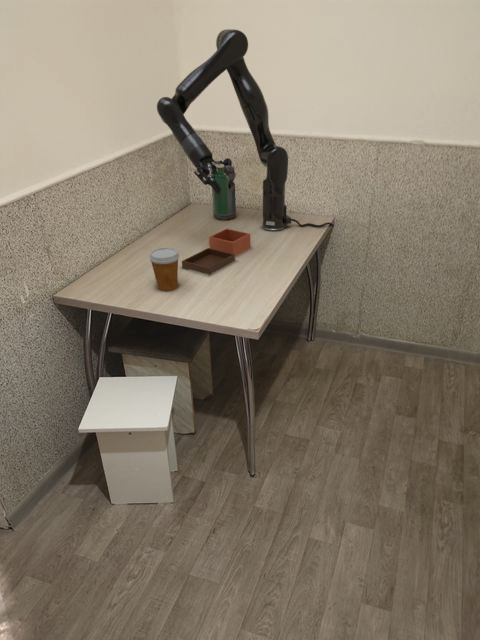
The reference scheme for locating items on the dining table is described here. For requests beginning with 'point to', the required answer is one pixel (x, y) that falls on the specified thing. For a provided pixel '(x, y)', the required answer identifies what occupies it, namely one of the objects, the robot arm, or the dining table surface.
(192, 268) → the tray
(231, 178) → the beverage bottle
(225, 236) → the bin
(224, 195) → the bottle
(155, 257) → the disposable coffee cup
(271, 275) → the dining table surface
